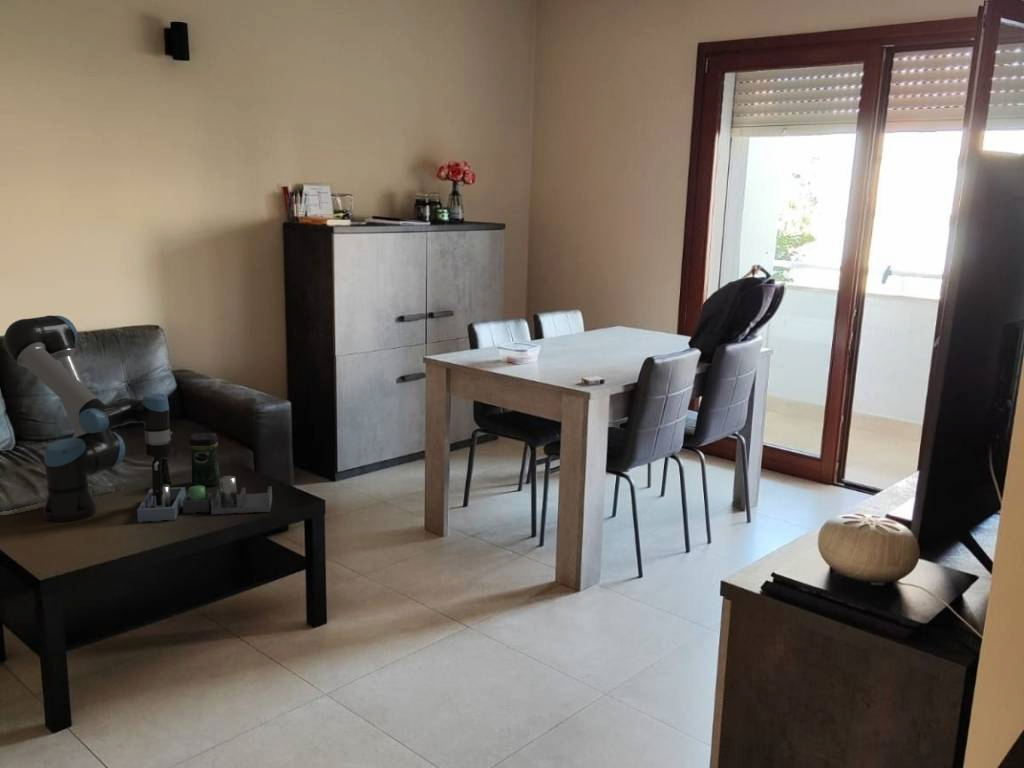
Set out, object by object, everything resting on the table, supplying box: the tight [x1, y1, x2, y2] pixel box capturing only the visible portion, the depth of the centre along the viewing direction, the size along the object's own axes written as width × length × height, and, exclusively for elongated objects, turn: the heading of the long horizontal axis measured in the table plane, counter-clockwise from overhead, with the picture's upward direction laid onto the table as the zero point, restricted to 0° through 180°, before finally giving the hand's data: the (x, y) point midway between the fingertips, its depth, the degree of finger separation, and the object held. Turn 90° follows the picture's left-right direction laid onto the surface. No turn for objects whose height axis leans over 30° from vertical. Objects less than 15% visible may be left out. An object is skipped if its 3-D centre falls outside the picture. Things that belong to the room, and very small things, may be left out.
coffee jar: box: [188, 432, 221, 487], centre depth 312 cm, size 10×8×19 cm
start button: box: [188, 485, 206, 500], centre depth 287 cm, size 5×5×6 cm
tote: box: [136, 486, 187, 523], centre depth 286 cm, size 11×22×4 cm, turn 12°
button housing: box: [182, 492, 213, 514], centre depth 287 cm, size 8×8×4 cm
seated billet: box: [219, 475, 238, 504], centre depth 288 cm, size 5×5×8 cm
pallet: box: [210, 485, 273, 516], centre depth 290 cm, size 18×14×4 cm
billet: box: [153, 484, 172, 508], centre depth 285 cm, size 5×5×8 cm
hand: (163, 509), depth 286 cm, fingers open, 9 cm apart
